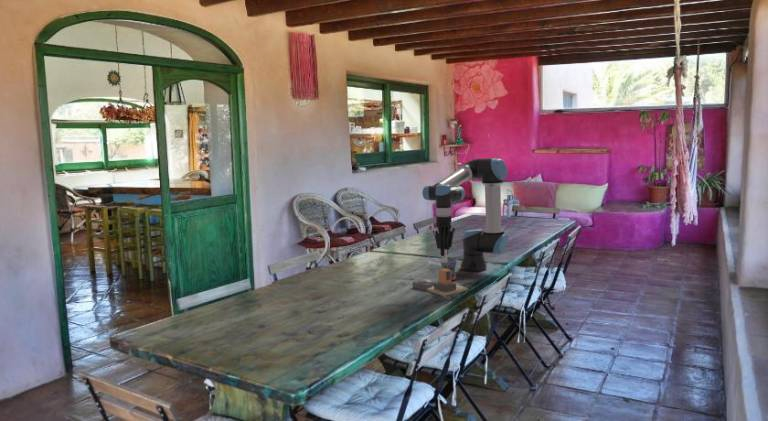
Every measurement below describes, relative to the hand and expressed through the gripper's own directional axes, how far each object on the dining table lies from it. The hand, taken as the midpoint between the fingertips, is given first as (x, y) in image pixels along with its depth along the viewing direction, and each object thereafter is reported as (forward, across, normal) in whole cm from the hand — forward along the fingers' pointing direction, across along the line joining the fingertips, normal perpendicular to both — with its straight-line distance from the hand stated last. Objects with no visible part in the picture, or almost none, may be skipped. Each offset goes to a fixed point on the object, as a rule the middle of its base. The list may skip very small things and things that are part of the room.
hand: (444, 261), depth 288 cm
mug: (+16, -18, -17) cm, 29 cm away
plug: (+14, 0, 0) cm, 14 cm away
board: (+15, -2, -2) cm, 16 cm away
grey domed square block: (+15, +2, -13) cm, 20 cm away
